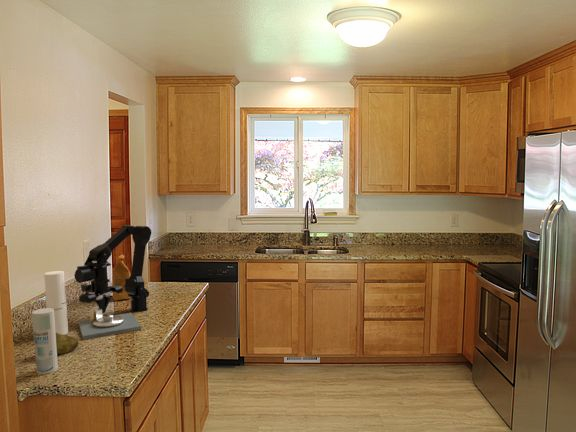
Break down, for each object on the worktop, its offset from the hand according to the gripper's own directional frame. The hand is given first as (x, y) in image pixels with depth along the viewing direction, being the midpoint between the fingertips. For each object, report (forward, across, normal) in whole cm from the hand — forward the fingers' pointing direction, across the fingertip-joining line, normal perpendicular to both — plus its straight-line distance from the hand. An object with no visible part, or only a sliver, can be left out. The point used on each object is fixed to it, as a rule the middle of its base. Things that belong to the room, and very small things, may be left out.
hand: (103, 312), depth 208 cm
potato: (+4, +32, +14) cm, 36 cm away
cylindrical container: (+4, +18, -5) cm, 19 cm away
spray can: (+4, +44, +24) cm, 51 cm away
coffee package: (+5, -32, -23) cm, 40 cm away
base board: (+4, +4, +8) cm, 10 cm away
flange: (+2, +5, +6) cm, 8 cm away
